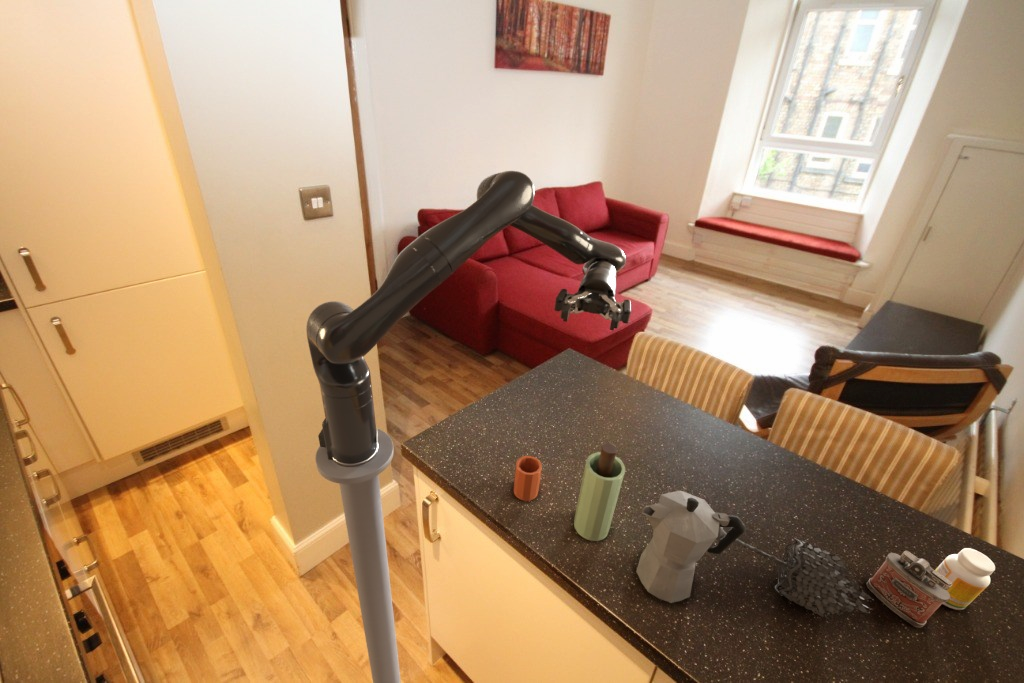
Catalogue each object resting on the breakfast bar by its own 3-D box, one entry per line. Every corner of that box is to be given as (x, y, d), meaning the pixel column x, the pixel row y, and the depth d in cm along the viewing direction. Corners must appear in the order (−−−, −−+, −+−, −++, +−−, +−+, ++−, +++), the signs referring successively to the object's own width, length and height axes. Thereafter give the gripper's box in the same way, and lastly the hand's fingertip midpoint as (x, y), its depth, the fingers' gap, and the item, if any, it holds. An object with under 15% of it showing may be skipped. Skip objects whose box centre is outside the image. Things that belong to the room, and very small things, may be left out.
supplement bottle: (916, 582, 76) (947, 546, 71) (939, 576, 77) (971, 540, 72) (950, 614, 71) (985, 578, 67) (973, 607, 73) (1010, 571, 68)
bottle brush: (585, 528, 80) (602, 453, 71) (583, 515, 82) (599, 441, 73) (600, 529, 80) (619, 454, 71) (598, 516, 82) (616, 442, 73)
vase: (575, 539, 78) (588, 478, 71) (572, 510, 84) (584, 450, 77) (611, 542, 79) (628, 481, 71) (605, 512, 84) (621, 453, 77)
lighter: (862, 585, 75) (891, 547, 70) (873, 577, 76) (902, 539, 71) (917, 631, 69) (953, 593, 64) (927, 621, 70) (964, 583, 65)
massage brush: (714, 530, 82) (730, 495, 78) (855, 598, 73) (882, 562, 68) (704, 569, 75) (720, 533, 71) (858, 650, 65) (889, 614, 61)
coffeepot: (627, 599, 70) (653, 522, 61) (620, 546, 78) (642, 471, 69) (727, 612, 69) (768, 536, 60) (709, 557, 77) (743, 483, 68)
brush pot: (513, 500, 85) (515, 473, 82) (513, 480, 89) (516, 455, 86) (538, 501, 85) (542, 475, 82) (537, 482, 89) (541, 456, 86)
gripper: (566, 267, 94) (552, 295, 80) (635, 278, 91) (633, 309, 77) (561, 299, 97) (547, 332, 83) (628, 311, 95) (624, 347, 81)
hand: (588, 321), depth 80 cm, fingers open, 8 cm apart
